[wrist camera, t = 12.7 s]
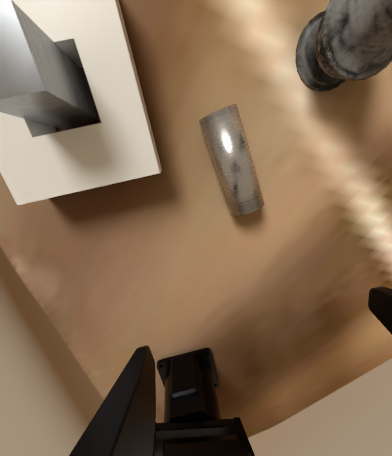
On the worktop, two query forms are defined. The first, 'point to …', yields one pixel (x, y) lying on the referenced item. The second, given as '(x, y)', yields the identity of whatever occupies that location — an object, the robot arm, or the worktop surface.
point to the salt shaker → (345, 43)
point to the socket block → (104, 100)
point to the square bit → (40, 76)
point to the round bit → (232, 160)
